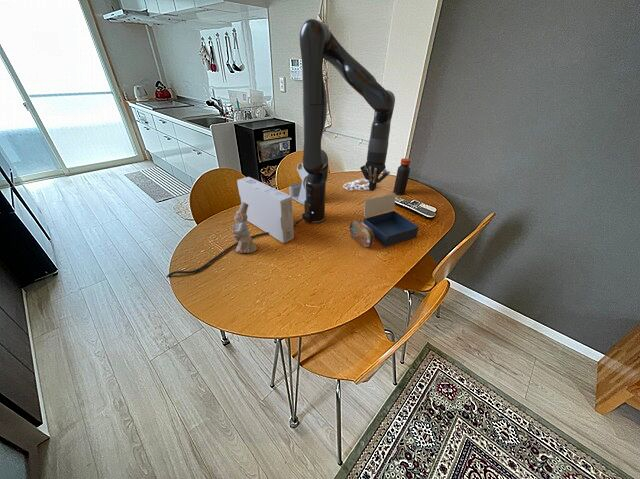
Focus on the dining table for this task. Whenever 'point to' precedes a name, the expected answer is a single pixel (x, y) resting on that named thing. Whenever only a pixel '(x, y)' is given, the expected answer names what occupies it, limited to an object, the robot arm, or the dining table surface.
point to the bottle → (402, 177)
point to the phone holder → (299, 186)
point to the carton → (391, 228)
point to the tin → (362, 233)
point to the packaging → (267, 208)
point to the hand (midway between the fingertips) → (371, 190)
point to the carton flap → (379, 204)
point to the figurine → (242, 231)
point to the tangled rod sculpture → (357, 184)
